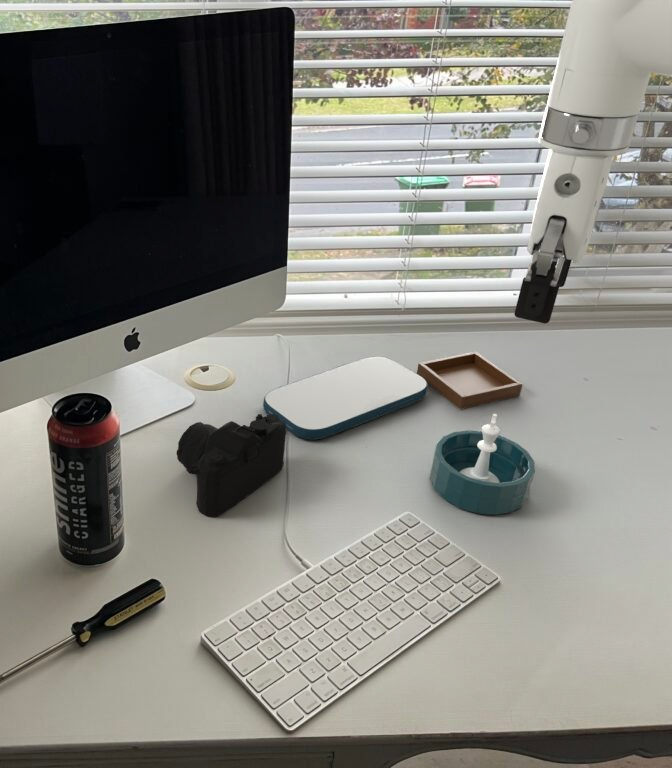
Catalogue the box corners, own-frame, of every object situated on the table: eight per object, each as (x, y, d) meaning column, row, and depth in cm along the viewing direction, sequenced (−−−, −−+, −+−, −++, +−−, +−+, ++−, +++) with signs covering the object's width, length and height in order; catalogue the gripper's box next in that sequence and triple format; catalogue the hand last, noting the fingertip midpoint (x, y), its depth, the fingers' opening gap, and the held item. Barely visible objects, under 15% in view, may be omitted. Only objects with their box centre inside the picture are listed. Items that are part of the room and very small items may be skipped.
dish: (484, 451, 102) (491, 422, 100) (547, 504, 93) (556, 474, 91) (410, 470, 99) (416, 440, 97) (468, 526, 90) (476, 495, 88)
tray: (473, 362, 122) (475, 351, 121) (519, 395, 113) (522, 384, 112) (416, 374, 119) (418, 362, 118) (459, 409, 110) (462, 397, 109)
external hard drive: (378, 363, 122) (379, 351, 121) (436, 397, 113) (438, 385, 112) (253, 407, 111) (254, 395, 110) (306, 448, 103) (308, 436, 102)
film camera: (234, 437, 105) (236, 379, 101) (293, 468, 99) (298, 408, 95) (152, 489, 96) (151, 427, 92) (212, 526, 90) (214, 463, 86)
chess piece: (453, 490, 95) (469, 420, 90) (459, 467, 99) (475, 399, 93) (497, 501, 93) (516, 431, 88) (501, 477, 97) (519, 409, 92)
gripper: (623, 158, 64) (567, 344, 73) (640, 115, 77) (590, 278, 86) (525, 145, 67) (482, 325, 76) (556, 106, 80) (517, 264, 89)
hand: (539, 300), depth 81 cm, fingers open, 9 cm apart
